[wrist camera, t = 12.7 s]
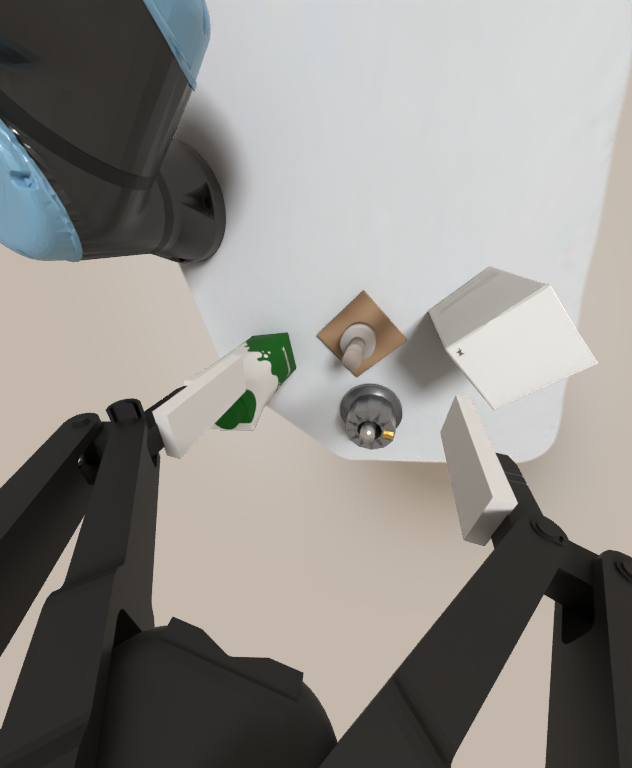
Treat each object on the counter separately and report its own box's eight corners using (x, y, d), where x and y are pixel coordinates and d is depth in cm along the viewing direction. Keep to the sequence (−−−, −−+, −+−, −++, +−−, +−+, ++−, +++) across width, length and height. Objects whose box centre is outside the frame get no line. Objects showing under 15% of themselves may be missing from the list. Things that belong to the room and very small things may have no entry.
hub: (330, 403, 50) (320, 429, 43) (374, 372, 44) (370, 396, 37) (367, 440, 52) (363, 470, 45) (415, 415, 46) (417, 445, 39)
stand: (318, 332, 43) (299, 356, 35) (363, 289, 38) (354, 305, 29) (358, 374, 45) (349, 406, 37) (406, 338, 40) (408, 366, 31)
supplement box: (461, 356, 39) (491, 414, 26) (426, 310, 37) (441, 350, 25) (528, 317, 34) (603, 365, 22) (491, 263, 32) (551, 282, 20)
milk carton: (302, 372, 48) (251, 446, 31) (259, 374, 51) (192, 442, 34) (291, 326, 44) (226, 383, 27) (246, 331, 47) (162, 385, 30)
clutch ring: (347, 425, 49) (342, 444, 45) (353, 390, 45) (348, 407, 41) (389, 434, 48) (388, 455, 43) (399, 399, 44) (399, 418, 39)
